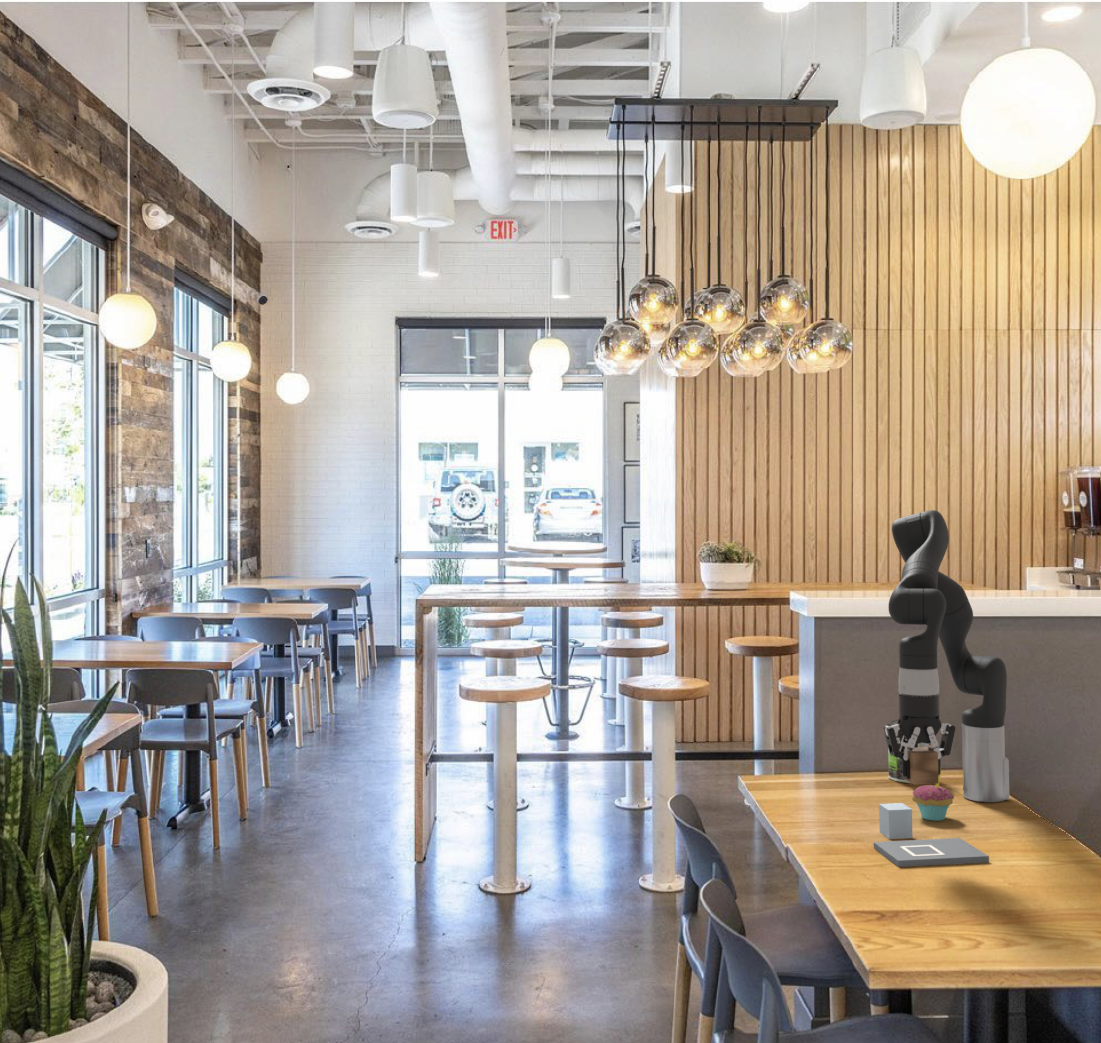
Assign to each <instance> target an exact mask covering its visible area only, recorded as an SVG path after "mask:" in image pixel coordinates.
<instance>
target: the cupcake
mask: <svg viewBox="0 0 1101 1043" xmlns="http://www.w3.org/2000/svg"><path fill="white" fill-rule="evenodd" d="M941 773H942V772H941ZM941 773H940V775H938V783H939V784H923V785H920V786H918V787H917V788H915V789H914V790H913V792H912V798H911V801H913V802H914V803H916V806H917V807H918V809H919V813H920V815H921V818H923V819H924V820H928V821H944V820H945V818H946V815H947V813H948V809H949V807H950V806H951V805H952V804H953V800H954V795H953V794H952V793H951V792H950V791H949V790H948V789H947V788H945V787H944V786H941V785H940V782H941V781H940V780H941Z"/></svg>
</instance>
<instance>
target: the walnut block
mask: <svg viewBox="0 0 1101 1043" xmlns="http://www.w3.org/2000/svg"><path fill="white" fill-rule="evenodd" d="M909 761H910V779H905V778H903V779H905V780H906V781H908V782H910V783H909V784H911V785H914V786H915V785H936V784H939V785H940V782H939V783H938V752H936V751H932V749H928V748H927V747H918V748H914V749H913V750H912V751H911V752H910V757H909Z"/></svg>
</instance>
